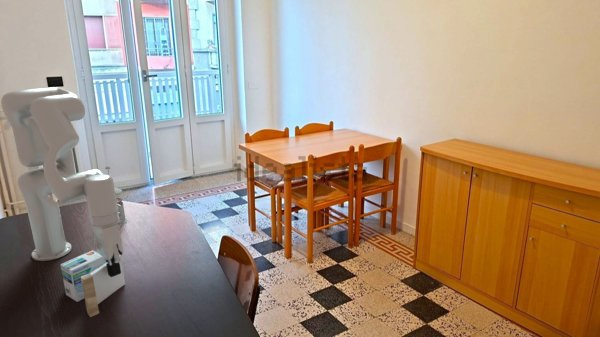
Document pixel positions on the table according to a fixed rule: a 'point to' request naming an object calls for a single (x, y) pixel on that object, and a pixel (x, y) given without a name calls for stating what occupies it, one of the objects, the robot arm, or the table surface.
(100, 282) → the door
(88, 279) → the tan wooden blocky piece
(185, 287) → the table surface
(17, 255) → the table surface
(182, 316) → the table surface
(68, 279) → the light bulb box
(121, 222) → the french press
